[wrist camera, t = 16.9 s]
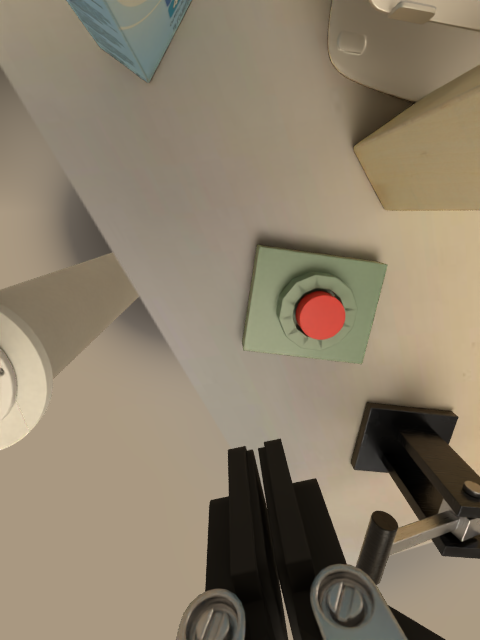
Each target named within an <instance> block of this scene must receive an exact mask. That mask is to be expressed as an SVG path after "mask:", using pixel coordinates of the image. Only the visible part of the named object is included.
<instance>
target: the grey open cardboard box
mask: <svg viewBox="0 0 480 640" xmlns="http://www.w3.org/2000/svg"><path fill="white" fill-rule="evenodd" d="M327 45H328V53H329V57H330V60H331V62H332V64H333V66H334V67H335V68H336V70H337V71H338V72H339V73H341V74H342V75H343V76H344V77H346V78H348V79H350V80H352V81H354V82H356V83H359V84H361V85H363V86H366V87H369V88H371V89H374V90H377V91H379V92H382V93H385V94H388V95H391V96H394V97H398V98H401V99H404V100H408V101H411V102H415V103H416V102H418V101H419V100H420V99H422V98H423V97H425V96H426V95H428V94H429V93H431V92H433V91H434V90H436V89H438V88H440V87H441V86H443V85H445V84H447V83H448V82H450V81H452V80H454V79H455V78H457V77H459V76H461V75H462V74H464V73H466V72H467V71H469V70H471V69H473V68H474V67H476V66H478V65H480V0H332V5H331V11H330V17H329V26H328V39H327Z"/></svg>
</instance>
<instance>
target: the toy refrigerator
mask: <svg viewBox="0 0 480 640" xmlns="http://www.w3.org/2000/svg"><path fill="white" fill-rule="evenodd" d="M354 152H355V154H356V156H357V157H358V159H359V161H360V163H361V165H362V167H363V169H364V171H365V173H366V175H367V177H368V179H369V181H370V182H371V184H372V186H373V188H374V190H375V192H376V194H377V196H378V198H379V200H380V202H381V203H382V205H383V207H384V209H385V210H391V211H438V210H480V65H478V66H476V67H474V68H473V69H471V70H469V71H467V72H466V73H464V74H462V75H461V76H459V77H457V78H455V79H454V80H452V81H450V82H448V83H447V84H445V85H443V86H441V87H440V88H438V89H436V90H434V91H433V92H431V93H429V94H428V95H426V96H425V97H423V98H422V99H420V100H419V101H418V102H416V103H415V104H413V105H412V106H410V107H409V108H408V109H406V110H405V111H403V112H402V113H400V114H399V115H398V116H396V117H395V118H393V119H392V120H390V121H389V122H388V123H386V124H385V125H383V126H382V127H381V128H379V129H378V130H376V131H375V132H373V133H372V134H371V135H369V136H368V137H366V138H365V139H364V140H362V141H361V142H359V143H358V144H357V145H355V146H354Z"/></svg>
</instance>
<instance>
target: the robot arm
mask: <svg viewBox="0 0 480 640" xmlns="http://www.w3.org/2000/svg"><path fill="white" fill-rule="evenodd" d="M16 396H17V379H16V374H15V371H14V369H13V366H12V364H11V362H10V360H9V359H8V357H7V355H6V354H5V352H4V351H3V350H2V349H1V348H0V422H1V421H2V420H3V419H4V418H5V417H6V416H7V415H8V414H9V413H10V411H11V409H12V407H13V406H14V403H15V400H16ZM264 446H265V447H262V448H258V451H259V458H260V465H261V471H262V478H263V484H264V491H265V498H266V503H265V498H264V494H263V490H262V486H261V481H260V477H259V473H258V469H257V464H256V460H255V456H254V452H253V450H248V451H247V450H246V447H245V446H243V447H238V448H234V449H229V450H228V474H229V475H228V476H229V496H228V497H223V498H219V499H214V500H211V501H210V505H209V525H208V526H209V527H208V548H207V567H206V589H205V592H204V593H202V594H200V595H199V596H198V597H197V598H195V599H194V600H193V601H192V602H191V603H190V605H189V606H188V607H187V609H186V611H185V612H184V614H183V617H182V619H181V622H180V625H179V629H178V633H177V638H176V640H288V636H287V629H286V623H285V616H284V610H283V603H282V597H281V590H280V585H281V589H282V593H283V598H284V602H285V606H286V610H287V614H288V618H289V623H290V627H291V631H292V635H293V639H294V640H445V639H443V638H442V637H440V636H439V635H437V634H435V633H434V632H432V631H430V630H428V629H427V628H425V627H424V626H422V625H420V624H419V623H417V622H415V621H414V620H412V619H410V618H409V617H407V616H405V615H404V614H402V613H400V612H399V611H397V610H395V609H393V608H392V607H390V606H389V605H387V603H386V601H385V599H384V598H383V596H382V594H381V593H380V591H379V589H378V587H377V586H376V584H375V583H374V582H373V580H372V579H371V578H370V576H369V575H367V574H366V573H365V572H363V571H362V570H361V569H359V568H357V567H354V566H352V565H347V563H346V561H345V558H344V555H343V552H342V549H341V547H340V544H339V541H338V538H337V535H336V532H335V530H334V527H333V524H332V521H331V518H330V516H329V513H328V510H327V507H326V504H325V501H324V499H323V496H322V493H321V490H320V487H319V485H318V482H317V480H316V478H315V479H310V480H305V481H301V482H296V483H292V480H291V477H290V473H289V469H288V465H287V461H286V457H285V453H284V449H283V446H282V442H281V439H277V440H272V441H267V442H264ZM266 504H267V507H266ZM279 581H280V583H279Z"/></svg>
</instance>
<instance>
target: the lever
mask: <svg viewBox="0 0 480 640" xmlns="http://www.w3.org/2000/svg"><path fill="white" fill-rule="evenodd" d="M448 532H451V533H452V534H454V535H455V536H456V537H457V538H458V539H459V540H460V541H465V540H467V539H469V538H472V537H474V536H477V535H479V534H480V518H468V517H458V516H457V515H456V514H455V513H454V511H453V510H452V509H451V508H450V506H449V505H448V504H447V502H446V501H445V500H444V499H443V501H442V504H441V506H440V509H439V512H438V514H437V515H434V516H431V517H428V518H425V519H422V520H419V521H417V522H414V523H411V524H408V525H405V526H402V527H400V528H398V524H397V522H396V520H395V519H394V518H393V517H392V516H391V515H389V514H388V513H386V512H383V511H375V512H373V513H372V515H371V519H370V522H369V525H368V529H367V532H366V535H365V538H364V542H363V545H362V548H361V551H360V555H359V558H358V561H357V565H356V567H357V568H359V569H361V570H362V571H363V572H365V573H366V574H367V575H369V576H370V578H371V579H372V580H373V582H374V583H375V584H376V585H377V584H379V583H380V581H381V578H382V575H383V572H384V569H385V566H386V563H387V560H388V557H389V555H392V554H394V553H397V552H399V551H402V550H404V549H407V548H410V547H412V546H415V545H417V544H420V543H422V542H425V541H427V540H430V539H432V538H435V537H437V536H440V535H443V534H445V533H448Z"/></svg>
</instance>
